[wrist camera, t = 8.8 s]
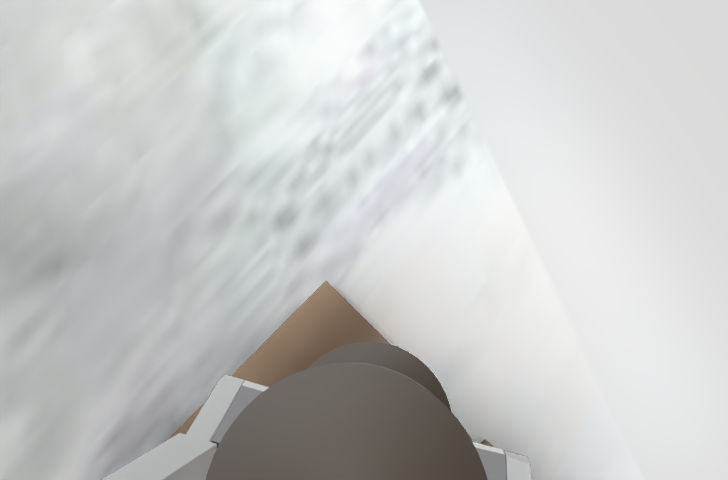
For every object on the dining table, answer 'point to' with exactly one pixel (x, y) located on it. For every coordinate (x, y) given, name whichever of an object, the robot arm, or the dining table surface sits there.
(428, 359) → the dining table surface
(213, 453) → the robot arm
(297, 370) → the notched board
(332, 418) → the bobbin
